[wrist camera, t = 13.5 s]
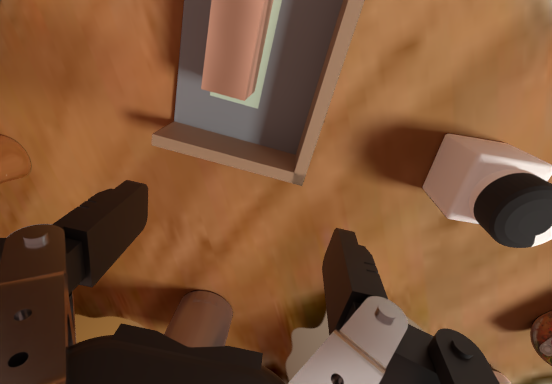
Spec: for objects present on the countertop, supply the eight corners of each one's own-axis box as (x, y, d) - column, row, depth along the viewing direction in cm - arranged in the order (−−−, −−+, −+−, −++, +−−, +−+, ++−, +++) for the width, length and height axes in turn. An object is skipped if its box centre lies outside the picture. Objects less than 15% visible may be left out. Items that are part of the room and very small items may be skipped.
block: (277, -19, 26) (270, -36, 21) (254, 91, 31) (244, 101, 26) (235, -32, 26) (217, -51, 21) (218, 81, 31) (200, 89, 25)
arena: (302, 164, 35) (302, 185, 30) (175, 129, 34) (151, 145, 29) (366, -34, 26) (382, -54, 20) (194, -86, 25) (164, -122, 20)
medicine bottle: (420, 188, 35) (470, 250, 24) (445, 132, 32) (515, 175, 21) (478, 198, 35) (553, 264, 24) (508, 142, 32) (611, 192, 21)
